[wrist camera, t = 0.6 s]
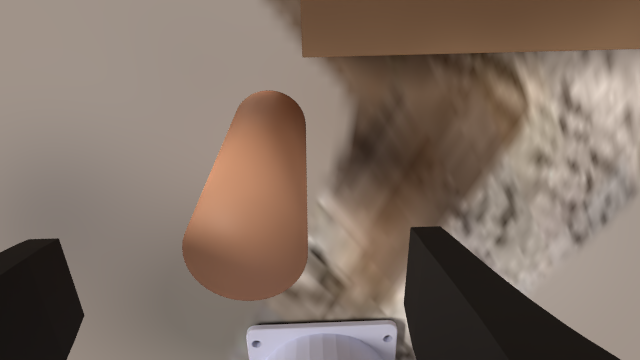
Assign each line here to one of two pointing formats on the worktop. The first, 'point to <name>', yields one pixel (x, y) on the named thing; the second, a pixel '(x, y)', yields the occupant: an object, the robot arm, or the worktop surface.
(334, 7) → the walnut stand
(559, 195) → the worktop surface
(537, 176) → the worktop surface
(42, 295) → the robot arm
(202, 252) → the peg
